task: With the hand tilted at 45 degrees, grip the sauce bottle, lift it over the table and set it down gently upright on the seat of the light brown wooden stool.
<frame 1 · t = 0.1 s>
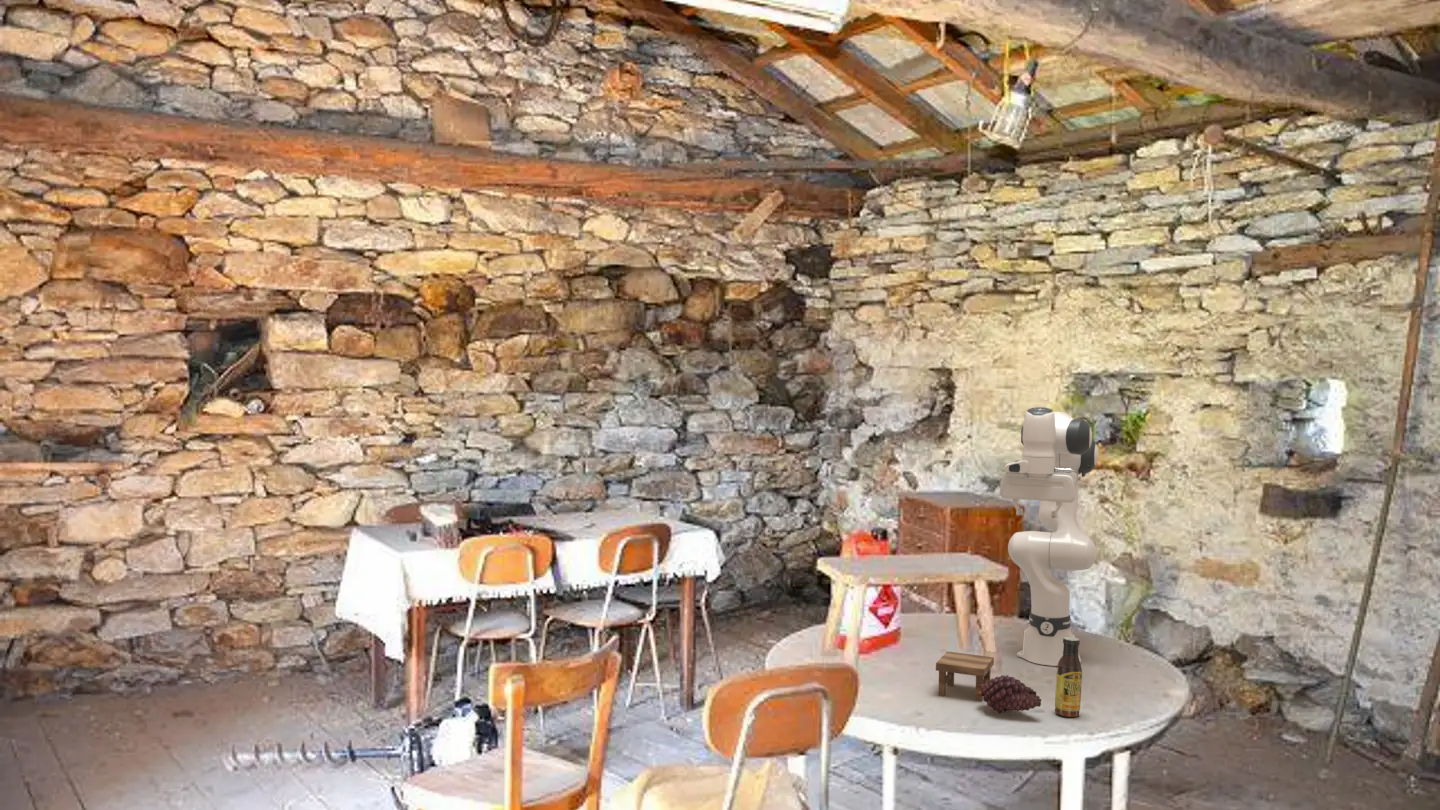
hand: (1036, 516, 304), 48 cm above the table, tool pointing down, fingers open, 8 cm apart
light brown wooden stool: (964, 692, 301), on the table
pine cone: (1007, 714, 284), on the table
sauce bottle: (1067, 715, 284), on the table
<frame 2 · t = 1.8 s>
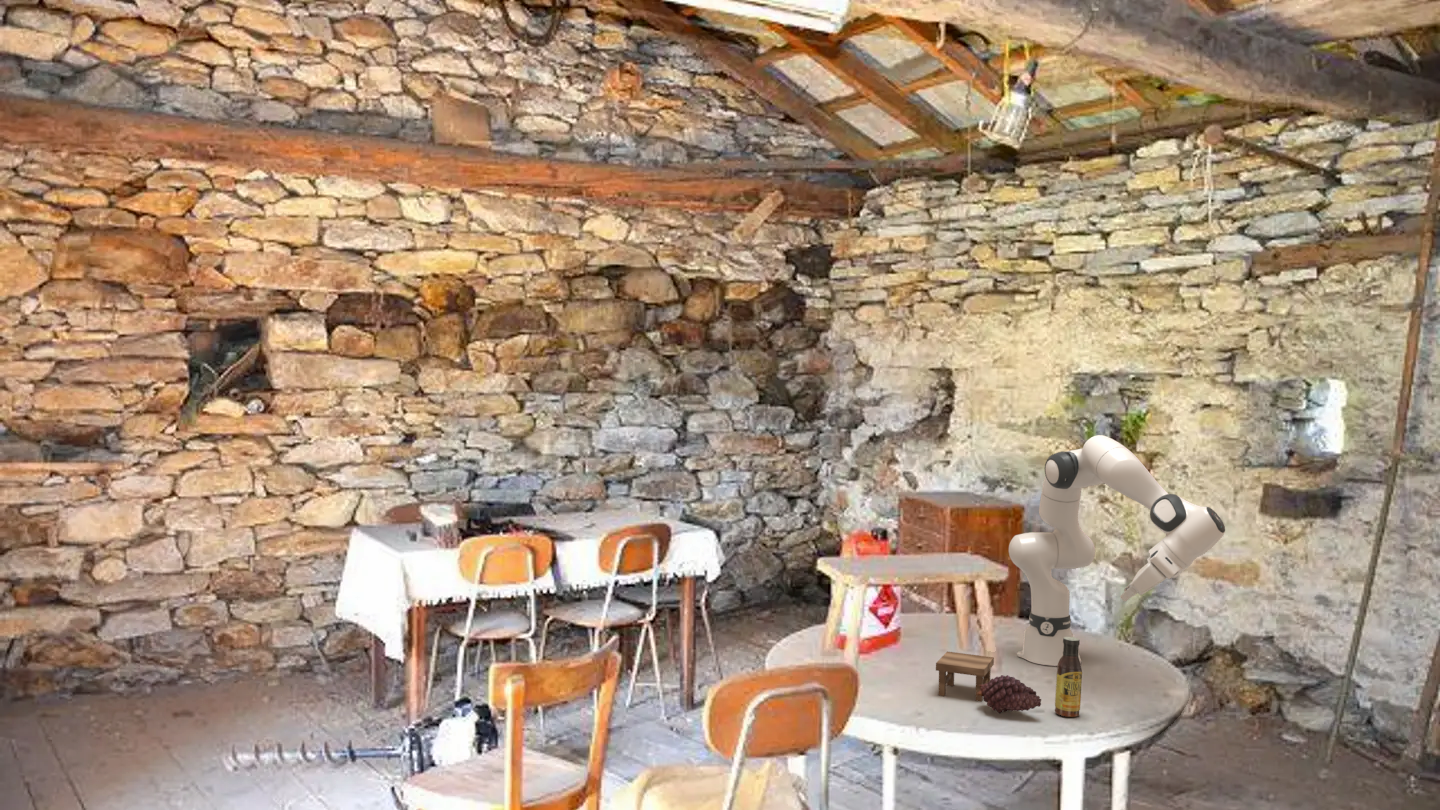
hand: (1124, 595, 277), 32 cm above the table, tool tilted 45°, fingers open, 8 cm apart
nothing on the table moved.
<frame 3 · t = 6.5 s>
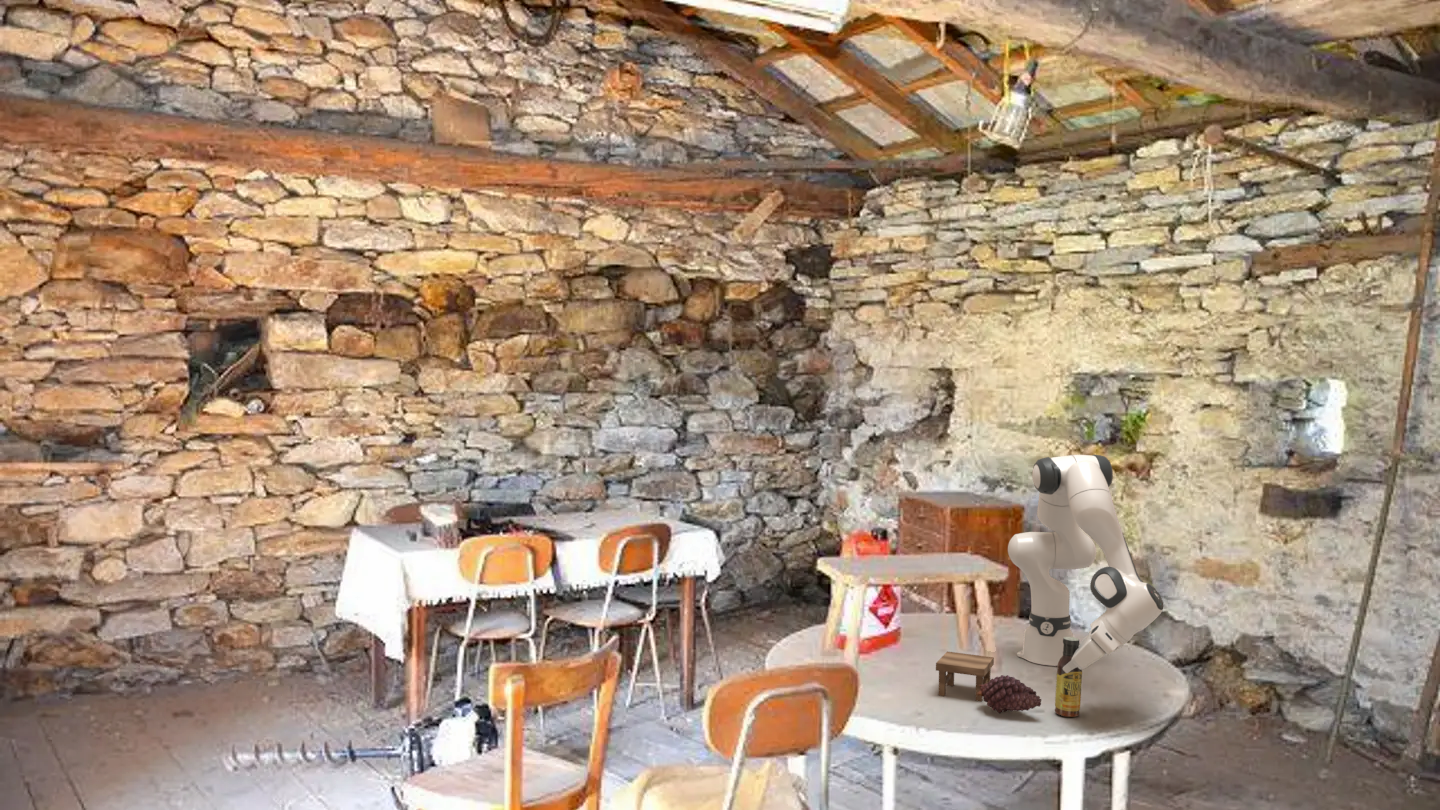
hand: (1066, 666, 284), 12 cm above the table, tool tilted 45°, fingers closed on sauce bottle, 6 cm apart
sauce bottle: (1067, 715, 284), on the table, touching gripper
everything else where it was.
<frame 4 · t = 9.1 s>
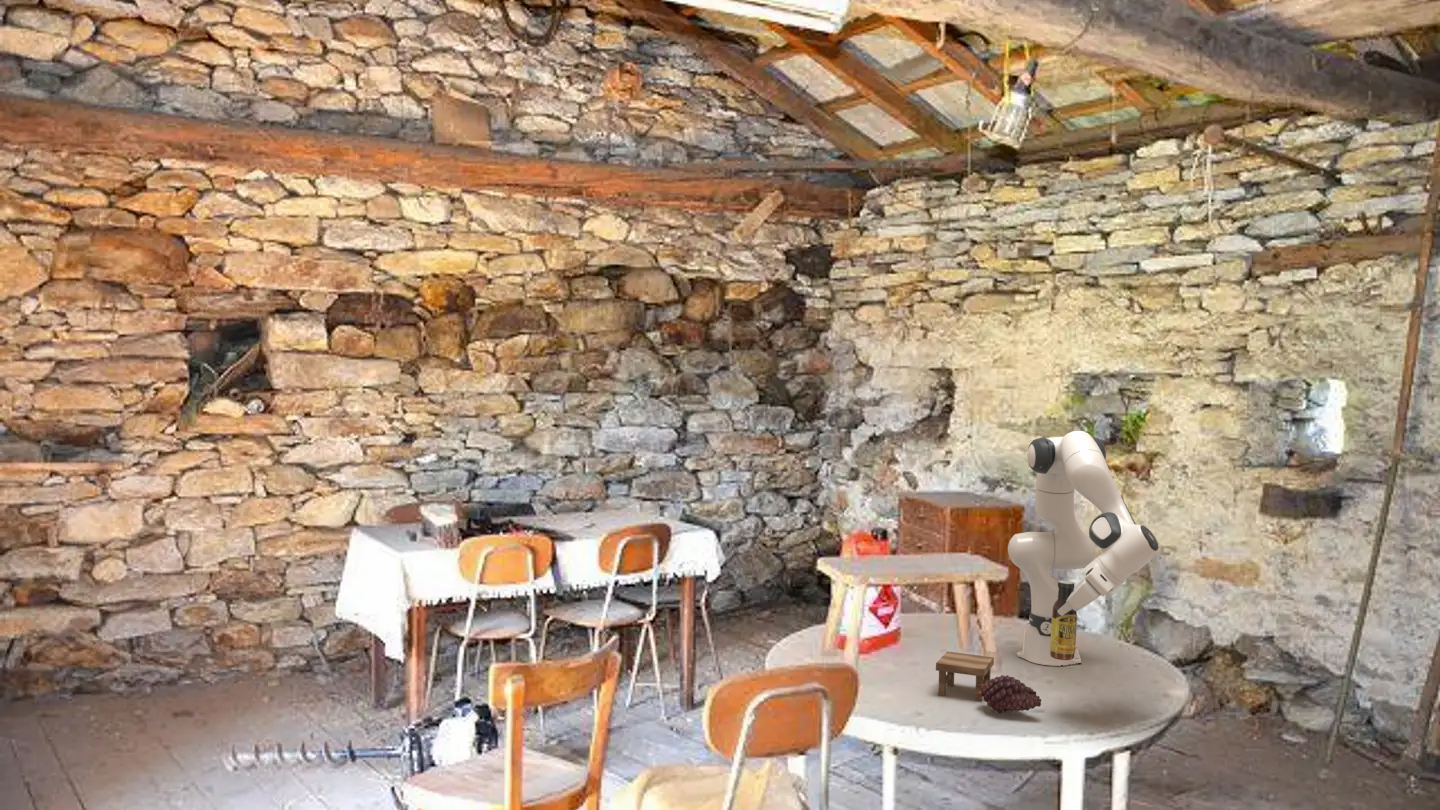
hand: (1061, 610, 284), 27 cm above the table, tool tilted 45°, fingers closed on sauce bottle, 6 cm apart
sauce bottle: (1062, 658, 285), point 14 cm above the table, touching gripper
everything else where it was.
when the fingers open (23 cm above the table, at t = 12.2 s): sauce bottle drops 1 cm, resting on light brown wooden stool.
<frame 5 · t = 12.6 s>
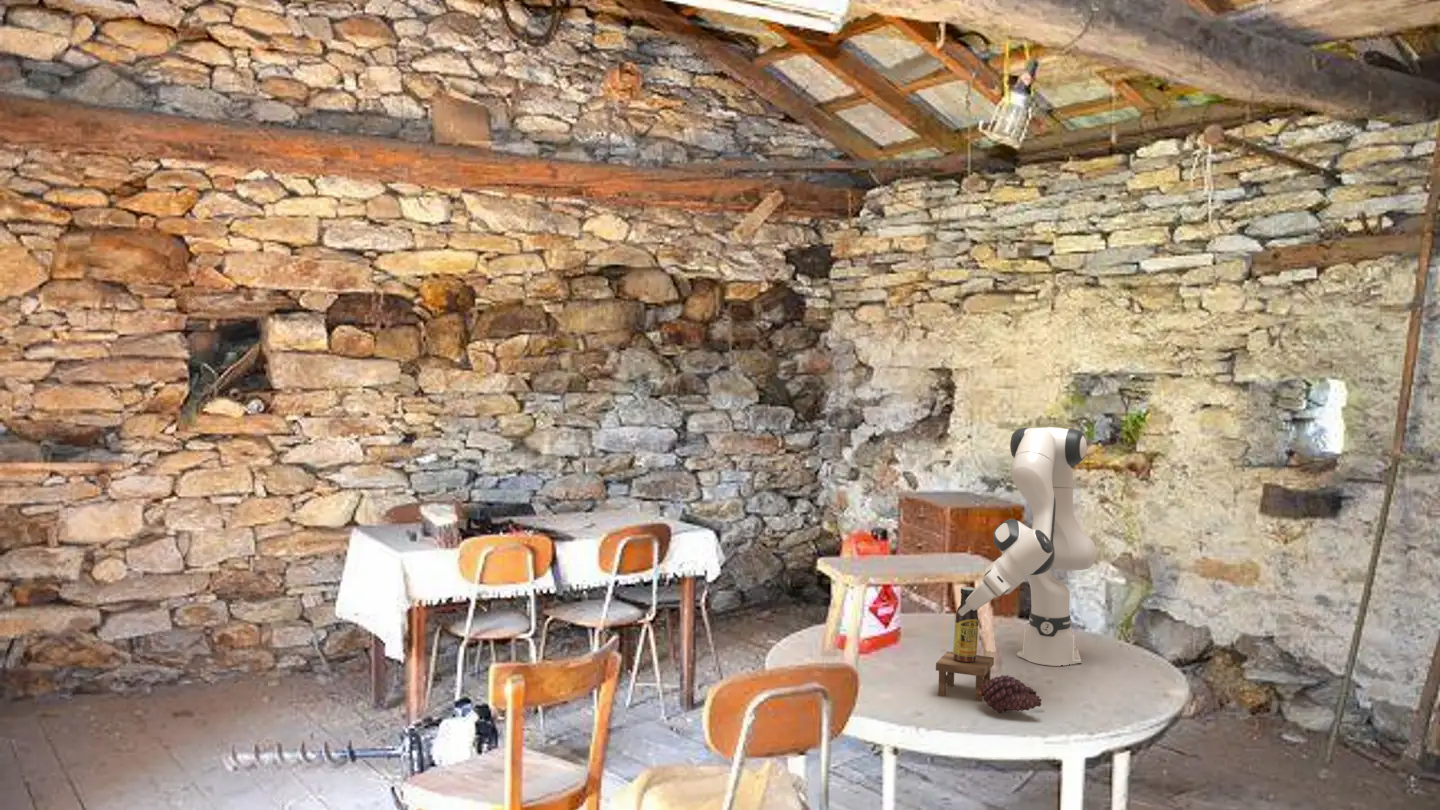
hand: (964, 609, 300), 23 cm above the table, tool tilted 45°, fingers open, 8 cm apart
sauce bottle: (965, 660, 301), point 9 cm above the table, touching light brown wooden stool
everything else where it was.
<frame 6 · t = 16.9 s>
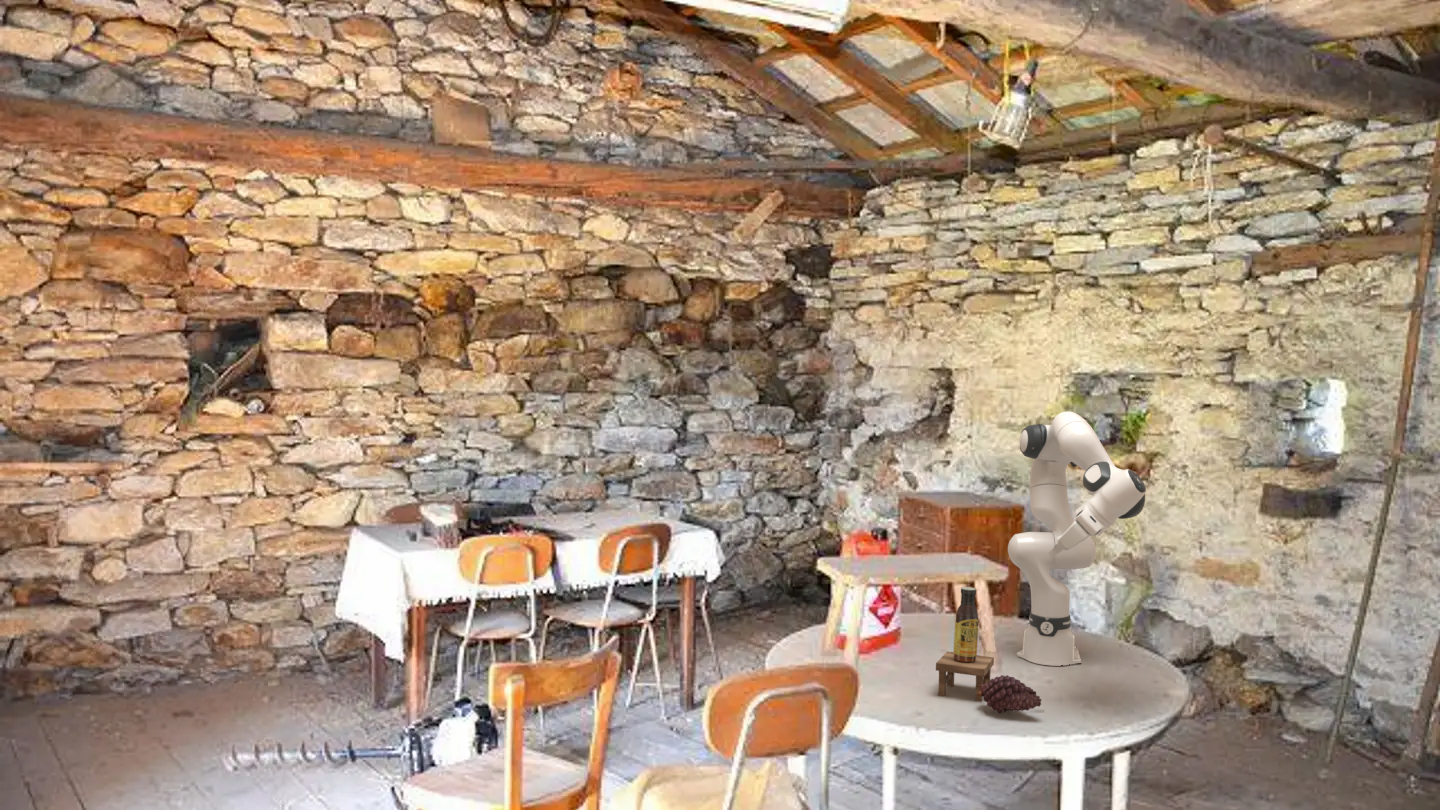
hand: (1053, 552, 297), 39 cm above the table, tool tilted 45°, fingers open, 8 cm apart
nothing on the table moved.
at the end: sauce bottle inside the target area on the light brown wooden stool (0.0 cm from its centre), point 8.8 cm above the light brown wooden stool's base; sauce bottle tilted 0°; the gripper is holding nothing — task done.
